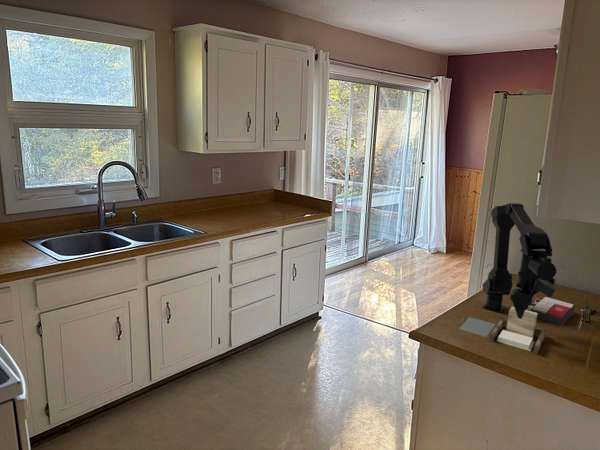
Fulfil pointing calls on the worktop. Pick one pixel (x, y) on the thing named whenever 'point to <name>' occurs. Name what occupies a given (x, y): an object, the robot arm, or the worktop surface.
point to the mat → (477, 326)
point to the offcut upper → (515, 339)
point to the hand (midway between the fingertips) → (522, 313)
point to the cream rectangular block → (522, 323)
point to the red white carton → (553, 310)
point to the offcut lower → (520, 347)
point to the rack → (537, 332)
